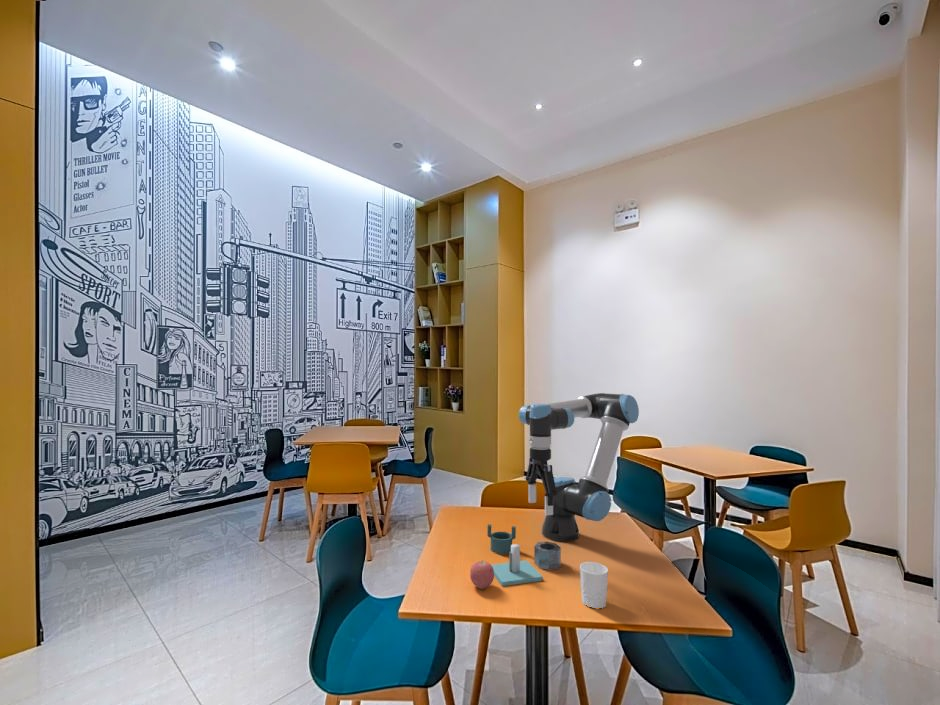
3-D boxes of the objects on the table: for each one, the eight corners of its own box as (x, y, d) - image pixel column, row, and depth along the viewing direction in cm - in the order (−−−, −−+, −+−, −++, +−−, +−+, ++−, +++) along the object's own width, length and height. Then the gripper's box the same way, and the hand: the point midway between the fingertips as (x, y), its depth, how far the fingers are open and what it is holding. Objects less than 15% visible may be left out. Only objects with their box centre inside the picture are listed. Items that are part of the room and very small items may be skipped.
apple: (470, 580, 131) (470, 554, 132) (493, 581, 131) (493, 555, 131) (469, 592, 124) (470, 565, 124) (494, 593, 124) (494, 566, 124)
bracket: (517, 551, 154) (517, 526, 155) (497, 556, 149) (497, 530, 150) (503, 542, 162) (504, 519, 162) (484, 547, 157) (484, 523, 158)
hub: (552, 557, 149) (552, 540, 149) (564, 568, 141) (564, 550, 141) (531, 560, 147) (531, 543, 147) (542, 571, 138) (542, 552, 139)
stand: (526, 563, 144) (527, 537, 144) (542, 580, 132) (542, 551, 133) (489, 568, 140) (489, 540, 140) (502, 586, 128) (502, 555, 129)
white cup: (576, 596, 123) (576, 561, 124) (601, 595, 124) (601, 561, 124) (585, 611, 115) (585, 574, 116) (612, 610, 116) (612, 573, 117)
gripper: (517, 442, 157) (517, 498, 156) (546, 455, 133) (546, 521, 132) (535, 441, 159) (535, 497, 158) (567, 454, 135) (567, 519, 134)
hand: (540, 508), depth 145 cm, fingers open, 13 cm apart
